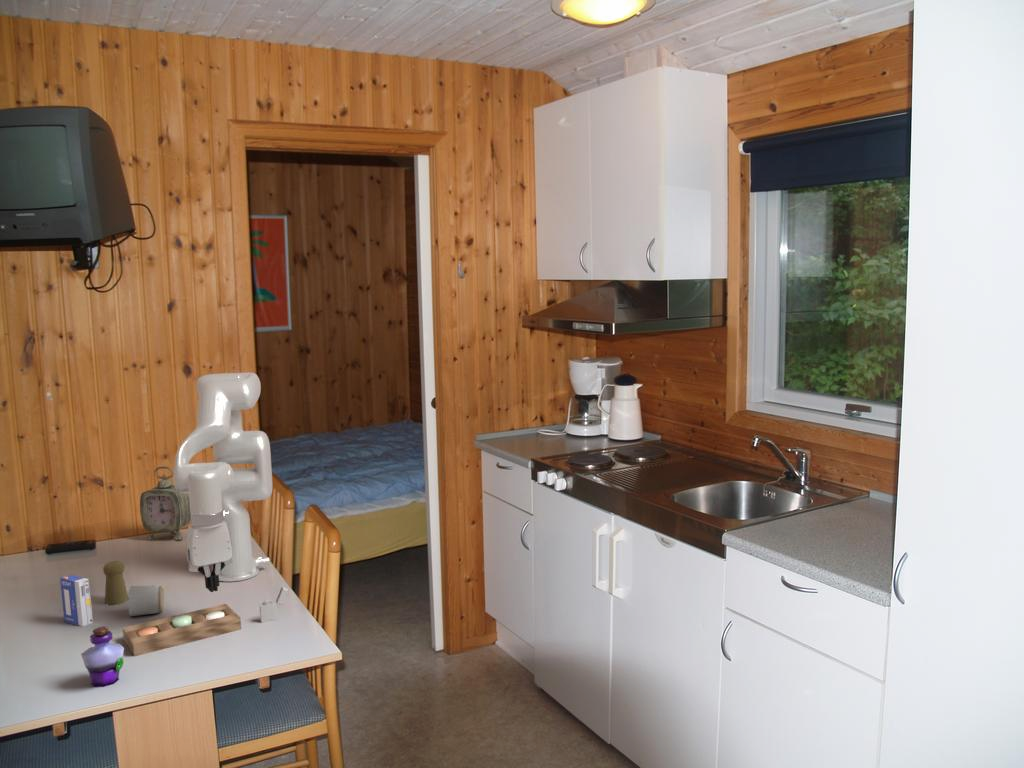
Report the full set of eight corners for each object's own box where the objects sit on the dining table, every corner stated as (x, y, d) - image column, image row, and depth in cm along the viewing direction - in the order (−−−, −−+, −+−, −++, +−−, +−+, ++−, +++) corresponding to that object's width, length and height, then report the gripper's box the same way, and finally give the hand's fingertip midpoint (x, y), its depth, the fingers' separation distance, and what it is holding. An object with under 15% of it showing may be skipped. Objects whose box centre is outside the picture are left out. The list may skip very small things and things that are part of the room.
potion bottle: (124, 686, 190) (119, 633, 188) (80, 693, 187) (74, 639, 186) (129, 670, 198) (124, 618, 197) (87, 676, 196) (82, 624, 194)
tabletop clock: (142, 541, 298) (136, 469, 295) (157, 533, 307) (151, 463, 304) (182, 542, 296) (176, 469, 293) (196, 534, 305) (190, 463, 302)
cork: (119, 605, 239) (115, 566, 237) (99, 604, 240) (96, 565, 238) (133, 597, 244) (129, 559, 243) (113, 596, 246) (110, 558, 244)
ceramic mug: (162, 616, 230) (160, 587, 229) (128, 620, 228) (126, 591, 227) (167, 603, 240) (164, 575, 239) (134, 607, 238) (132, 579, 237)
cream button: (221, 619, 225) (221, 610, 224) (227, 624, 221) (226, 615, 221) (204, 623, 222) (203, 614, 222) (209, 628, 219) (208, 619, 218)
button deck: (226, 614, 229) (225, 603, 229) (241, 629, 219) (240, 617, 219) (123, 639, 215) (122, 627, 215) (134, 656, 205) (133, 643, 205)
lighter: (261, 622, 223) (259, 592, 222) (260, 620, 225) (258, 590, 224) (289, 617, 226) (287, 587, 225) (288, 615, 228) (286, 585, 227)
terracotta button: (156, 635, 216) (155, 625, 216) (160, 640, 212) (159, 631, 212) (136, 639, 213) (136, 630, 213) (141, 645, 210) (140, 636, 209)
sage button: (189, 623, 220) (188, 613, 220) (194, 628, 217) (193, 619, 216) (171, 627, 218) (170, 618, 217) (175, 633, 214) (174, 623, 214)
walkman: (64, 621, 228) (59, 576, 227) (74, 617, 231) (69, 573, 229) (83, 626, 224) (78, 581, 223) (93, 622, 227) (88, 577, 225)
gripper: (232, 510, 226) (237, 579, 229) (172, 521, 218) (178, 592, 220) (241, 516, 220) (247, 587, 222) (180, 528, 212) (186, 601, 214)
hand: (212, 589), depth 221 cm, fingers closed
